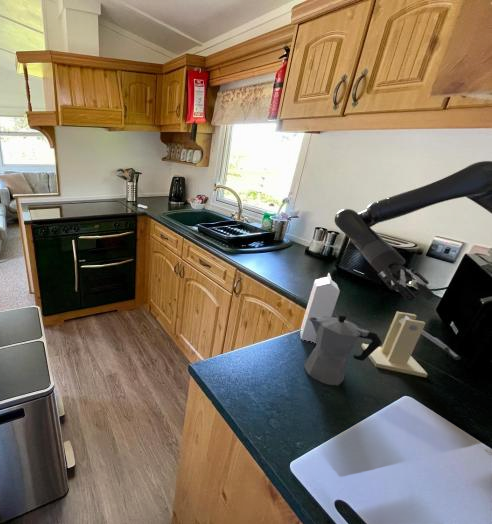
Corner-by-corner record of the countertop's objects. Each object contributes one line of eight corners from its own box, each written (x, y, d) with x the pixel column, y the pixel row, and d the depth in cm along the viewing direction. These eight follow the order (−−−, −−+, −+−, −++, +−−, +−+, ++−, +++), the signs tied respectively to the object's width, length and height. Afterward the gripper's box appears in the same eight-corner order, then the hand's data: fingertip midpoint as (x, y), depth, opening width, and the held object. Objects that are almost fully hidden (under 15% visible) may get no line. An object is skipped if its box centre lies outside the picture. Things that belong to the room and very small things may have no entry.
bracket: (406, 355, 88) (425, 312, 82) (426, 377, 78) (449, 331, 73) (361, 346, 91) (377, 304, 85) (375, 366, 81) (394, 321, 76)
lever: (433, 343, 84) (441, 337, 83) (455, 362, 76) (464, 356, 75) (392, 315, 85) (399, 309, 84) (409, 331, 77) (417, 325, 76)
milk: (300, 339, 92) (319, 276, 84) (299, 330, 97) (317, 270, 90) (322, 345, 90) (343, 281, 82) (320, 335, 95) (339, 274, 87)
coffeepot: (294, 373, 77) (312, 314, 71) (297, 354, 84) (313, 300, 78) (364, 399, 69) (391, 336, 63) (361, 377, 77) (384, 318, 71)
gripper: (376, 249, 87) (419, 293, 77) (407, 248, 92) (451, 290, 82) (357, 264, 93) (395, 308, 83) (387, 263, 97) (426, 304, 87)
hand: (423, 299), depth 82 cm, fingers open, 8 cm apart
